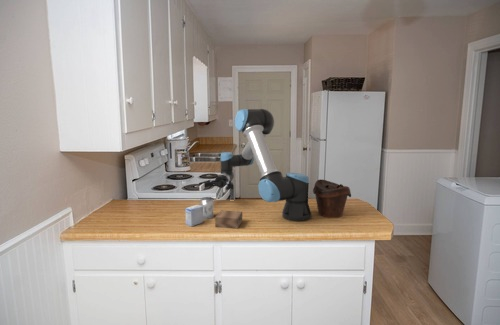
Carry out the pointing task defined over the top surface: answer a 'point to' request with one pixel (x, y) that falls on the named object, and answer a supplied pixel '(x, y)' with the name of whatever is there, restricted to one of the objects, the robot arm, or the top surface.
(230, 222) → the walnut block
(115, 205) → the top surface
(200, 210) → the medicine box
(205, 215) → the food tin
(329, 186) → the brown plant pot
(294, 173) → the robot arm
